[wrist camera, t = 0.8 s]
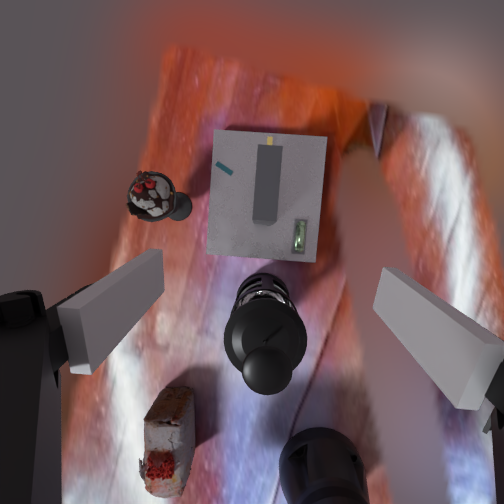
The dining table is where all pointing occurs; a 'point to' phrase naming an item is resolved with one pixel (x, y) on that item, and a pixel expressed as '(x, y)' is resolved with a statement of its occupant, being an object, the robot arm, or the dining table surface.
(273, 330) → the french press
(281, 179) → the base
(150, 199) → the sundae
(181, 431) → the food item
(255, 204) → the dark grey rectangular block
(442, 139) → the dining table surface
